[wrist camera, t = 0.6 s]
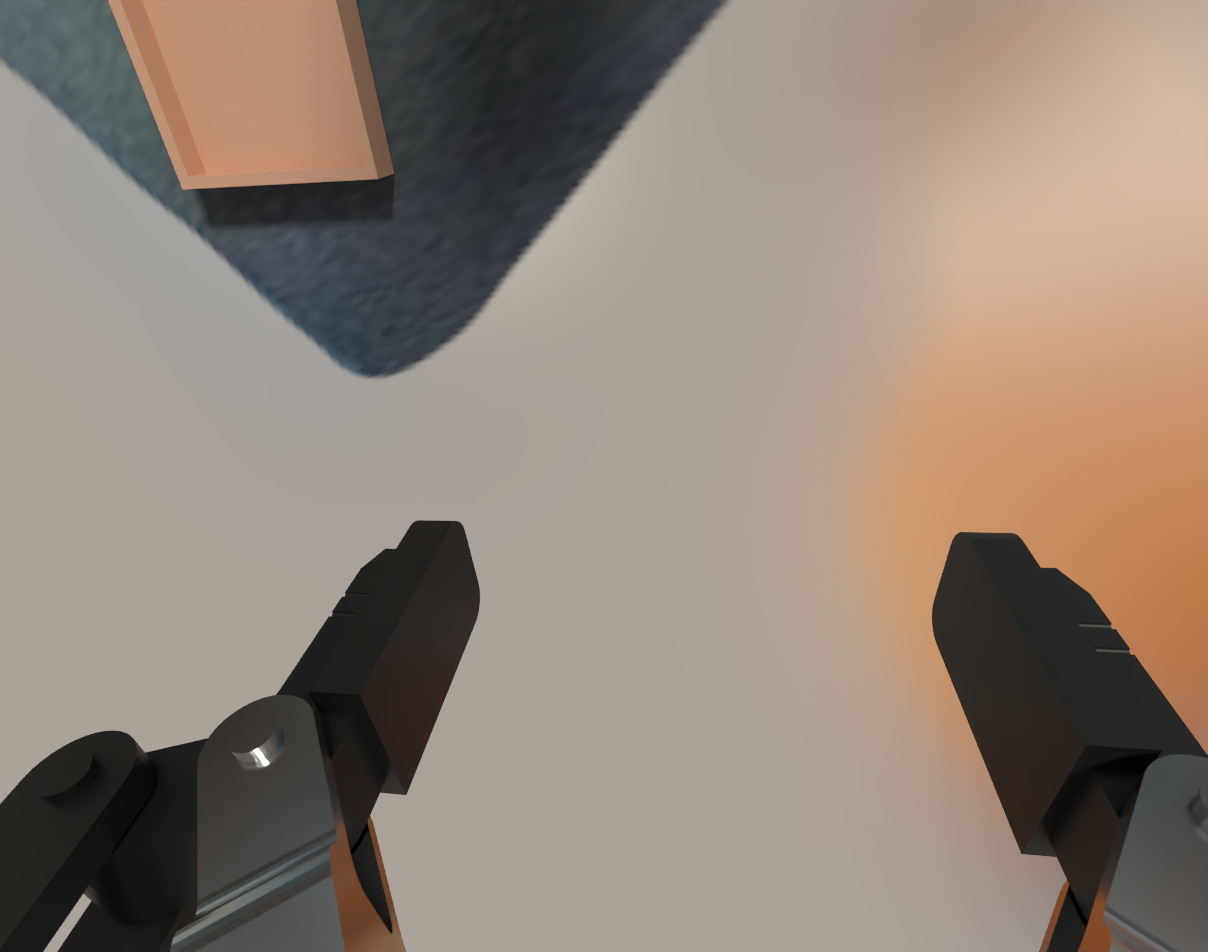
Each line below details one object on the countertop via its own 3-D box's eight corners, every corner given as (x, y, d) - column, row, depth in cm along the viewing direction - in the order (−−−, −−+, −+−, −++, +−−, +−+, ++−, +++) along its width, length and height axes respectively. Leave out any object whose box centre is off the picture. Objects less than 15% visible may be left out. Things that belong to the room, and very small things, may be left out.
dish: (109, -79, 28) (73, -89, 27) (332, -107, 27) (308, -119, 25) (207, 183, 34) (182, 189, 32) (394, 173, 33) (377, 178, 31)
